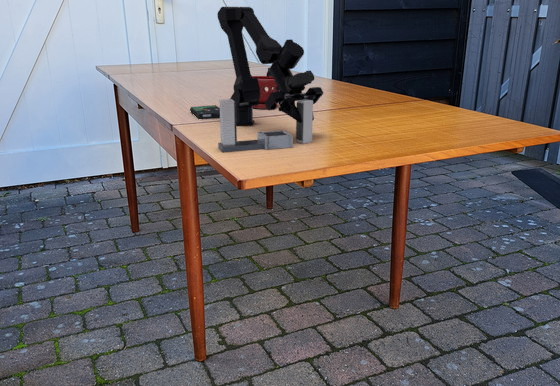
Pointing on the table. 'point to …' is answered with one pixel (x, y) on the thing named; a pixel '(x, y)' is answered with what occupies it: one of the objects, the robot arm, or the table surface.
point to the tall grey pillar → (304, 121)
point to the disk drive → (206, 112)
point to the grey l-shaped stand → (263, 140)
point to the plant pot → (264, 94)
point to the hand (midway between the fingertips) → (307, 121)
